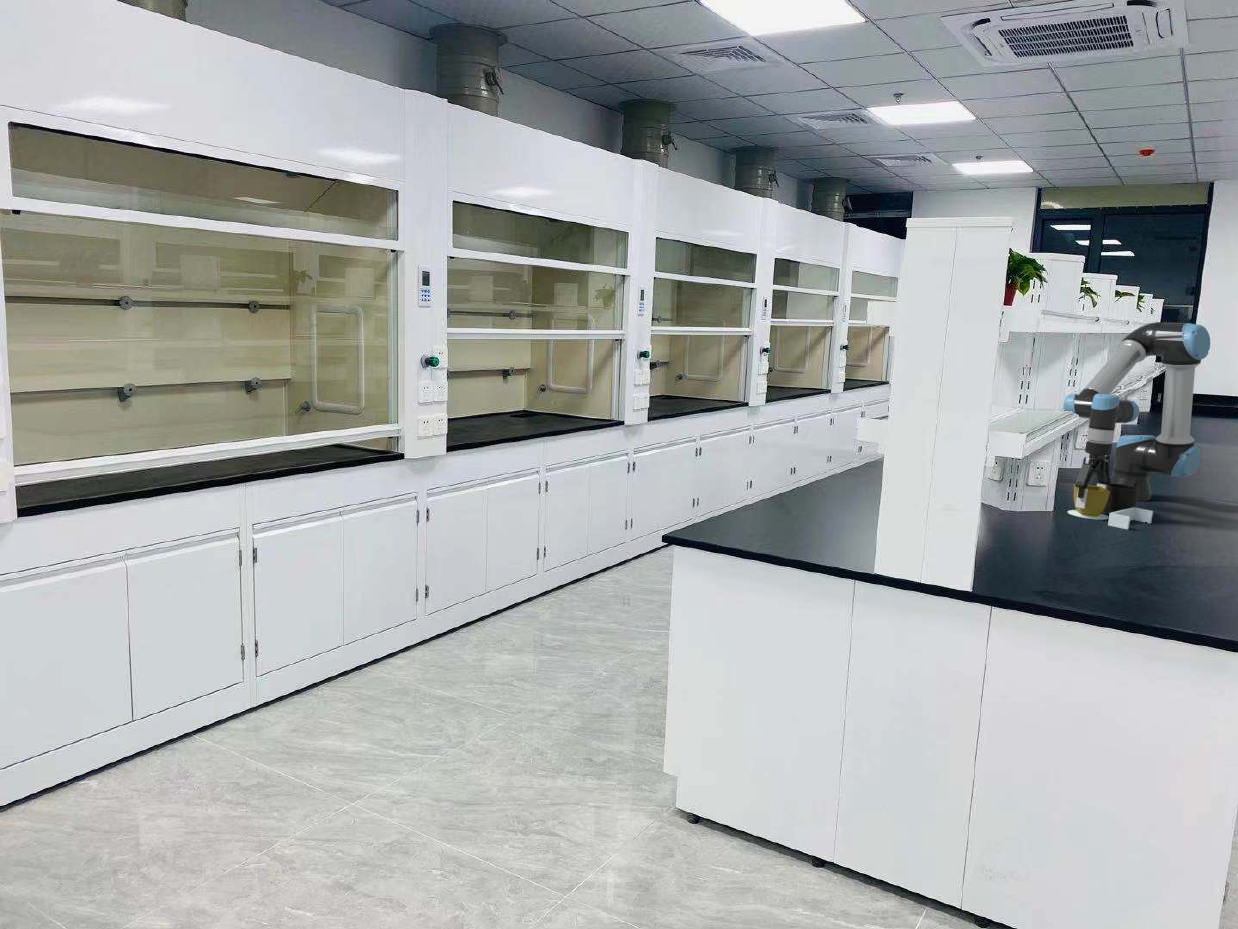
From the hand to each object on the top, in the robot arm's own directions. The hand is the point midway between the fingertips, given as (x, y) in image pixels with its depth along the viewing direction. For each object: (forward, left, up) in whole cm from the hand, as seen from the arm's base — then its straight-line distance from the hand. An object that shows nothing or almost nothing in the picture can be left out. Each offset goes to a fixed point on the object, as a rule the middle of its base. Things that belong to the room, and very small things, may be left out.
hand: (1089, 505), depth 292 cm
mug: (-17, +3, -4) cm, 17 cm away
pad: (0, 0, -3) cm, 3 cm away
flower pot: (0, 0, -3) cm, 3 cm away
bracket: (0, +13, -3) cm, 13 cm away
